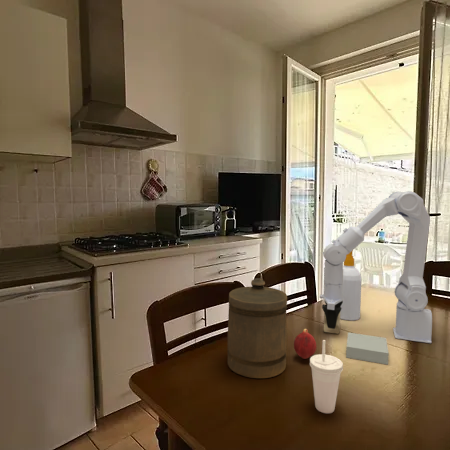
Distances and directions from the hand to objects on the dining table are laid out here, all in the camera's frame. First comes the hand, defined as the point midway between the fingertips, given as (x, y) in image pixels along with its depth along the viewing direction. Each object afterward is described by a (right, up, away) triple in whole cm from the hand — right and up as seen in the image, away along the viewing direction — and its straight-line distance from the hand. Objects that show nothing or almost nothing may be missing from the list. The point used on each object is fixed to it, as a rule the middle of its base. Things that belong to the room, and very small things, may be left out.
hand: (332, 325), depth 106 cm
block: (0, -2, 0) cm, 2 cm away
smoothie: (-14, -5, -38) cm, 41 cm away
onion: (-13, -4, -18) cm, 23 cm away
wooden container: (-26, -4, -21) cm, 33 cm away
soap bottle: (+10, -1, +13) cm, 17 cm away
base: (+5, -3, -15) cm, 16 cm away
